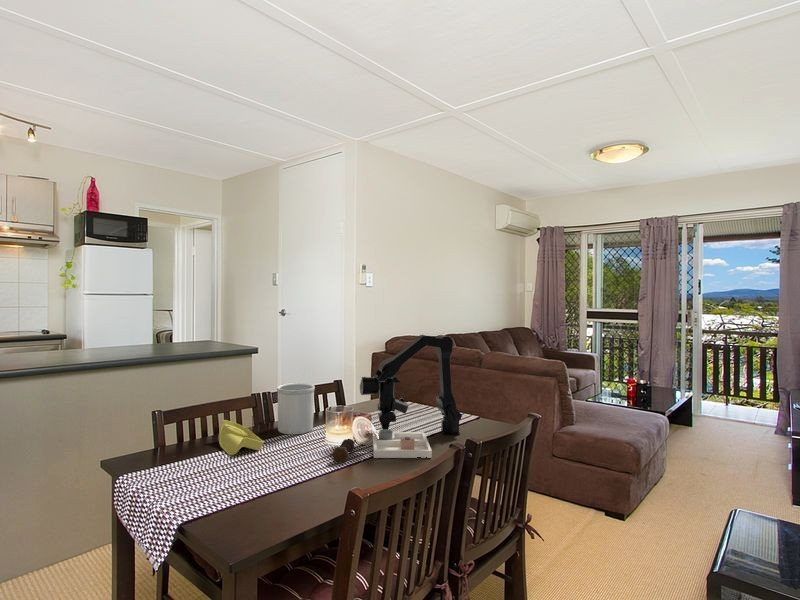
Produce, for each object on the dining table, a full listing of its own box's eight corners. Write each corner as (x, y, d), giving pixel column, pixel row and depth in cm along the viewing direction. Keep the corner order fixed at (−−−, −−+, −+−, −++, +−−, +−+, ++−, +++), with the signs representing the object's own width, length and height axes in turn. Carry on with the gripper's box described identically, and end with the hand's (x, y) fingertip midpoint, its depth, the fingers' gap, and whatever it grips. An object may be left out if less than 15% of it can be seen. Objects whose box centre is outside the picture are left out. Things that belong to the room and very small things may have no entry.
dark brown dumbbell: (351, 453, 169) (341, 467, 154) (340, 445, 169) (328, 458, 154) (360, 439, 168) (350, 452, 153) (348, 432, 169) (337, 444, 154)
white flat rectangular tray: (421, 431, 190) (421, 425, 190) (431, 457, 161) (431, 450, 161) (372, 431, 188) (372, 425, 188) (373, 457, 159) (374, 450, 159)
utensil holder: (268, 429, 186) (269, 386, 186) (297, 421, 198) (298, 381, 198) (292, 437, 177) (293, 392, 177) (321, 429, 189) (322, 386, 189)
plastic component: (266, 443, 164) (242, 436, 157) (256, 463, 162) (231, 457, 156) (243, 425, 178) (220, 418, 172) (234, 444, 177) (210, 437, 171)
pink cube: (413, 447, 168) (413, 435, 168) (414, 452, 164) (415, 439, 163) (399, 447, 168) (400, 435, 168) (400, 452, 163) (401, 439, 163)
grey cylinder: (391, 439, 177) (392, 427, 177) (392, 444, 172) (393, 431, 172) (378, 439, 177) (379, 427, 177) (379, 444, 172) (379, 431, 172)
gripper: (410, 399, 172) (408, 441, 173) (404, 388, 191) (403, 426, 191) (380, 399, 171) (379, 441, 172) (377, 388, 190) (376, 426, 190)
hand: (385, 433), depth 181 cm, fingers closed
